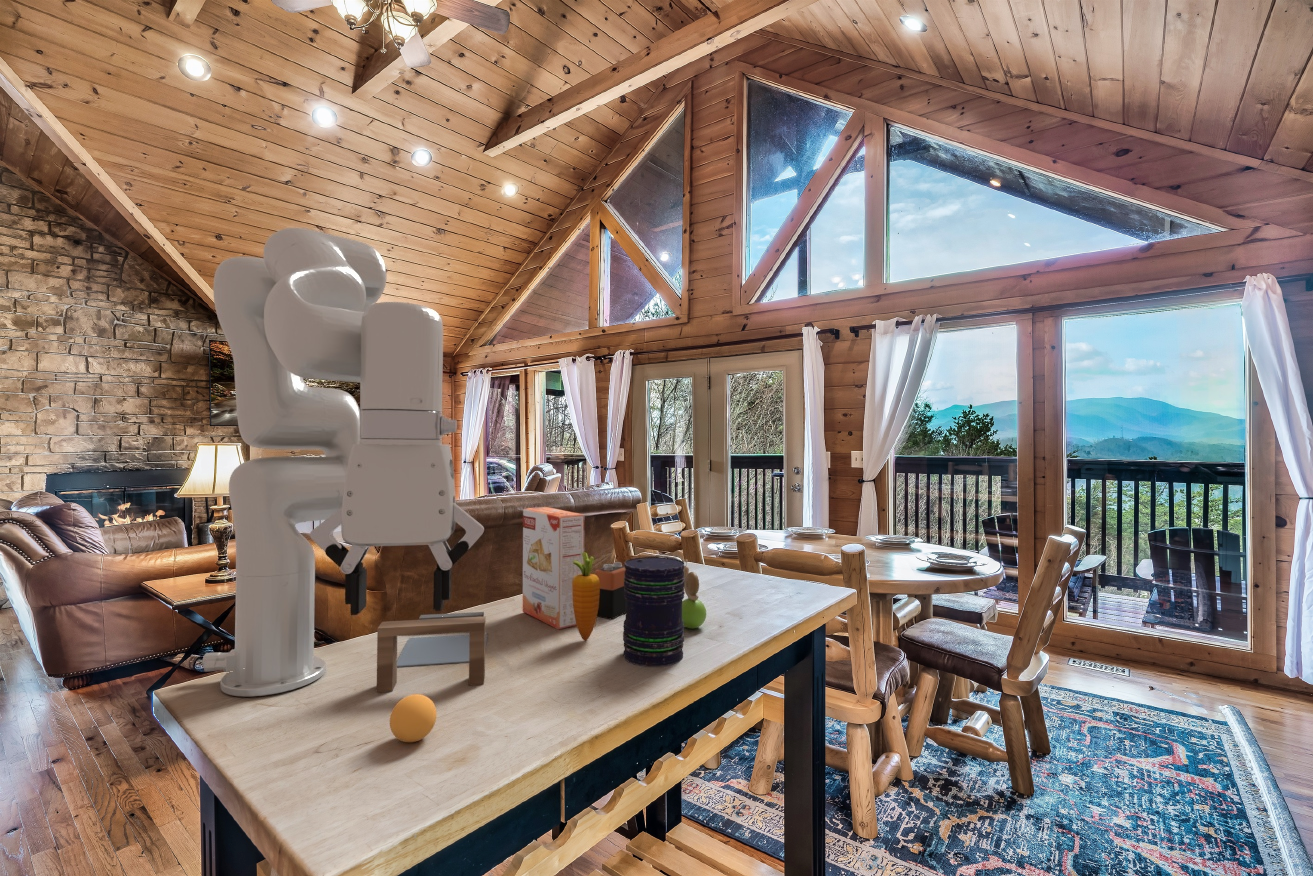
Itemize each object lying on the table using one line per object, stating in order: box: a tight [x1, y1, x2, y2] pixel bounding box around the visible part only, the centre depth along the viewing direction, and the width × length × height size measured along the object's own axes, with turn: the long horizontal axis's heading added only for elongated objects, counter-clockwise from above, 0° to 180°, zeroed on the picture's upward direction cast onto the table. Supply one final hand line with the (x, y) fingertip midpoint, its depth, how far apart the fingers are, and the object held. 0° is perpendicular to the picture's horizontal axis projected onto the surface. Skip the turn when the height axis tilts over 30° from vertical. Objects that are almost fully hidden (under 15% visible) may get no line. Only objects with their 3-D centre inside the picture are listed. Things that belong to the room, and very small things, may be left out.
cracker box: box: [522, 506, 585, 630], centre depth 116 cm, size 14×6×21 cm, turn 40°
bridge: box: [376, 615, 487, 693], centre depth 84 cm, size 3×14×9 cm, turn 103°
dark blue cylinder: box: [622, 556, 686, 668], centre depth 97 cm, size 10×10×15 cm
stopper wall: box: [418, 611, 485, 620], centre depth 109 cm, size 11×2×2 cm, turn 103°
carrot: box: [572, 551, 600, 642], centre depth 103 cm, size 5×5×15 cm
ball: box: [389, 693, 438, 743], centre depth 69 cm, size 5×5×5 cm
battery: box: [594, 561, 626, 620], centre depth 119 cm, size 4×7×10 cm, turn 151°
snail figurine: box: [681, 559, 707, 629], centre depth 112 cm, size 5×6×12 cm
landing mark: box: [397, 632, 489, 668], centre depth 98 cm, size 13×13×1 cm
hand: (399, 607), depth 60 cm, fingers open, 6 cm apart
